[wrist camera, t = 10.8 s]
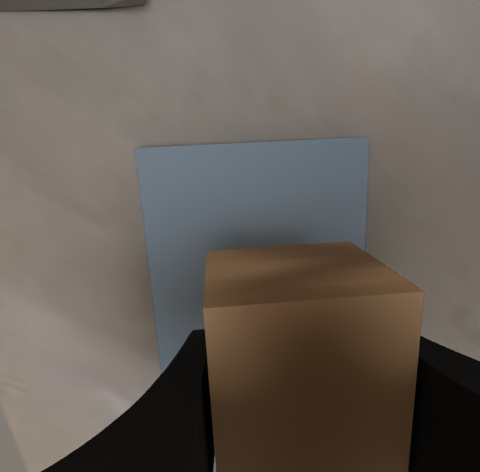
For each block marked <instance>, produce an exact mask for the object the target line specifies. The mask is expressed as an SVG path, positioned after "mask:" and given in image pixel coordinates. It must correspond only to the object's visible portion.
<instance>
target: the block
mask: <svg viewBox="0 0 480 472" xmlns="http://www.w3.org/2000/svg"><path fill="white" fill-rule="evenodd" d="M423 300H424V291H423V290H421V289H420V288H418V287H417V286H415V285H414V284H412V283H411V282H409V281H408V280H406V279H405V278H403V277H402V276H400V275H399V274H397V273H396V272H394V271H393V270H392V269H390V268H389V267H387V266H386V265H384V264H383V263H381V262H380V261H378V260H377V259H375V258H374V257H372V256H371V255H369V254H368V253H366V252H365V251H363V250H362V249H360V248H359V247H357V246H356V245H354V244H353V243H351V242H350V241H346V242H331V243H316V244H301V245H286V246H271V247H256V248H241V249H226V250H211V251H207V257H206V272H205V288H204V303H203V313H204V325H205V338H206V350H207V363H208V375H209V388H210V400H211V412H212V425H213V437H214V450H215V462H216V472H408V467H409V456H410V445H411V433H412V422H413V411H414V400H415V389H416V378H417V367H418V356H419V344H420V333H421V322H422V311H423Z"/></svg>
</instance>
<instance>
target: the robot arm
mask: <svg viewBox="0 0 480 472" xmlns="http://www.w3.org/2000/svg"><path fill="white" fill-rule="evenodd" d="M214 457H215V450H214V437H213V425H212V412H211V400H210V388H209V375H208V363H207V350H206V338H205V329H198V330H193V331H192V332H191V333H190V334H189V336H188V337H187V339H186V341H185V342H184V344H183V345H182V347H181V348H180V350H179V351H178V353H177V354H176V356H175V357H174V358H173V360H172V361H171V362H170V364H169V365H168V367H167V368H166V369H165V370H164V372H163V373H162V374H161V375H160V376H159V378H158V379H157V380H156V381H155V382H154V383H153V385H152V386H151V387H150V388H149V389H148V390H147V391H146V392H145V393H144V395H143V396H142V397H141V398H140V399H139V400H138V401H137V402H136V403H135V404H133V405H132V406H131V407H130V408H129V409H128V410H127V411H126V412H125V413H123V414H122V415H121V416H120V417H118V418H117V419H116V420H115V421H114V422H112V423H111V424H110V425H109V426H107V427H106V428H105V429H104V430H103V431H101V432H100V433H99V434H97V435H96V436H95V437H93V438H92V439H91V440H89V441H88V442H86V443H85V444H84V445H82V446H81V447H79V448H78V449H76V450H75V451H73V452H72V453H70V454H69V455H67V456H66V457H64V458H63V459H61V460H60V461H58V462H56V463H55V464H53V465H52V466H50V467H48V468H47V469H45V470H43V471H41V472H213V470H214ZM408 471H409V472H480V361H478V360H475V359H473V358H470V357H468V356H465V355H463V354H460V353H458V352H455V351H453V350H451V349H448V348H446V347H444V346H441V345H439V344H437V343H435V342H432V341H430V340H428V339H426V338H424V337H422V336H420V344H419V356H418V367H417V378H416V389H415V400H414V411H413V422H412V433H411V445H410V456H409V467H408Z"/></svg>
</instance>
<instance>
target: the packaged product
mask: <svg viewBox="0 0 480 472" xmlns="http://www.w3.org/2000/svg"><path fill="white" fill-rule="evenodd" d="M137 5H144V0H0V12H7V11H33V10H59V9H85V8H111V7H130V6H137Z"/></svg>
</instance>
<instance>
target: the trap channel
mask: <svg viewBox="0 0 480 472" xmlns="http://www.w3.org/2000/svg"><path fill="white" fill-rule="evenodd" d="M369 146H370V137H352V138H332V139H311V140H290V141H270V142H249V143H228V144H208V145H187V146H166V147H146V148H135V154H136V162H137V171H138V179H139V188H140V196H141V204H142V213H143V221H144V230H145V238H146V246H147V255H148V263H149V272H150V280H151V288H152V297H153V305H154V314H155V322H156V330H157V339H158V347H159V356H160V364H161V372H162V373H163V372H164V370H165V369H166V368H167V367H168V365H169V364H170V362H171V361H172V360H173V358H174V357H175V356H176V354H177V353H178V351H179V350H180V348H181V347H182V345H183V344H184V342H185V341H186V339H187V337H188V336H189V334H190V333H191V332H192V331H193V330H198V329H205V325H204V313H203V303H204V288H205V272H206V257H207V251H211V250H226V249H241V248H256V247H271V246H286V245H301V244H316V243H331V242H346V241H350V242H351V243H353V244H354V245H356V246H357V247H359V248H360V249H362V250H363V251H365V239H366V216H367V193H368V169H369ZM213 472H216V462H215V457H214V470H213Z"/></svg>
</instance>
